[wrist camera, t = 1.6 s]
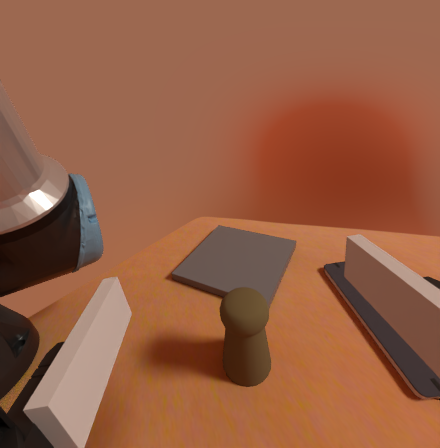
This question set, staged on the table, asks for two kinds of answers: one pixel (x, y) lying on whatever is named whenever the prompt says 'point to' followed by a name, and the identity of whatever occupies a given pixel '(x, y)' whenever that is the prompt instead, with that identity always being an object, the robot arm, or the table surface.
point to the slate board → (237, 262)
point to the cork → (245, 336)
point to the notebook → (387, 338)
